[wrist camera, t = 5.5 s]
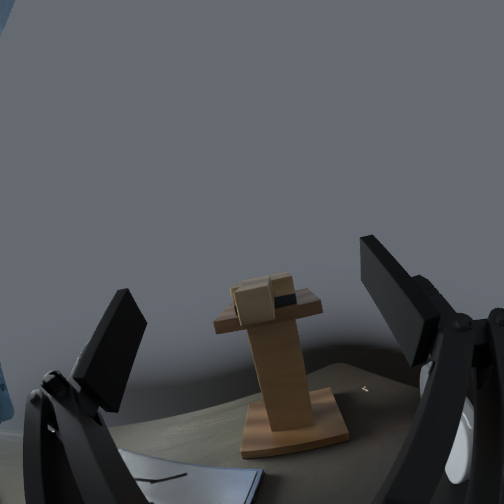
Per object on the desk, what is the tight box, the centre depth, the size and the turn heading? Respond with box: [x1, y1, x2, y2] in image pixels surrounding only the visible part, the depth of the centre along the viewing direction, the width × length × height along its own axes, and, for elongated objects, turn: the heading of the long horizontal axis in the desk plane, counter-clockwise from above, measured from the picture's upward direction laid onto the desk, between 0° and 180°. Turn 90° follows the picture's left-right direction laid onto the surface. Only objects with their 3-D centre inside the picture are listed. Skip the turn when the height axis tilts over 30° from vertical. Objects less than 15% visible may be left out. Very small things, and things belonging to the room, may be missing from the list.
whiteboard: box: [117, 448, 265, 504], centre depth 19 cm, size 24×16×1 cm, turn 75°
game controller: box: [420, 361, 474, 484], centre depth 19 cm, size 20×2×8 cm, turn 162°
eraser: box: [230, 271, 297, 326], centre depth 29 cm, size 22×7×4 cm, turn 175°
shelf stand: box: [213, 288, 349, 459], centre depth 35 cm, size 14×14×20 cm
